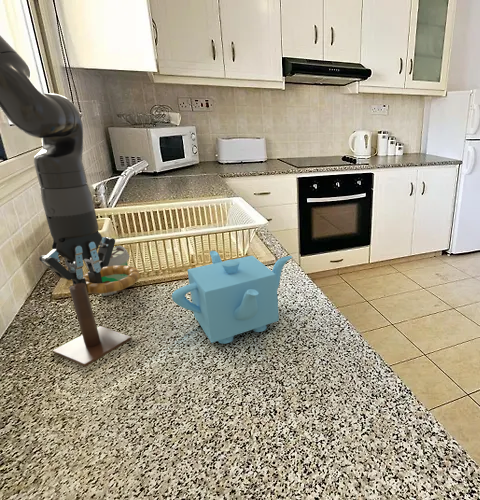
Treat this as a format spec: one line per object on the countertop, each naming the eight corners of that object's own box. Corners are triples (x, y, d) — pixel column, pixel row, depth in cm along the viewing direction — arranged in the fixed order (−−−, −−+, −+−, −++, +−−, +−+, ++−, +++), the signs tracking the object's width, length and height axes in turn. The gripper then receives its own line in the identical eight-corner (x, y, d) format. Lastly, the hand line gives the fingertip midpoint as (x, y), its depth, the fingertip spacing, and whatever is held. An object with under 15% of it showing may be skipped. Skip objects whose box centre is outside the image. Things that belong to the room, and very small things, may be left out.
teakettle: (171, 346, 72) (159, 277, 66) (217, 299, 89) (211, 241, 84) (265, 357, 70) (261, 287, 64) (294, 307, 87) (292, 248, 81)
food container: (132, 298, 89) (123, 259, 85) (102, 302, 87) (92, 262, 83) (138, 276, 99) (131, 241, 96) (111, 280, 97) (103, 244, 94)
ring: (67, 287, 77) (65, 279, 76) (117, 268, 86) (115, 260, 86) (103, 299, 73) (101, 290, 72) (151, 278, 83) (150, 270, 82)
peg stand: (54, 357, 68) (32, 291, 63) (101, 331, 76) (86, 271, 71) (86, 371, 65) (67, 303, 60) (133, 343, 73) (119, 280, 68)
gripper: (93, 198, 77) (109, 274, 83) (14, 214, 65) (41, 302, 71) (118, 203, 74) (133, 281, 81) (41, 221, 62) (66, 311, 69)
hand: (89, 291), depth 76 cm, fingers closed on ring, 2 cm apart
